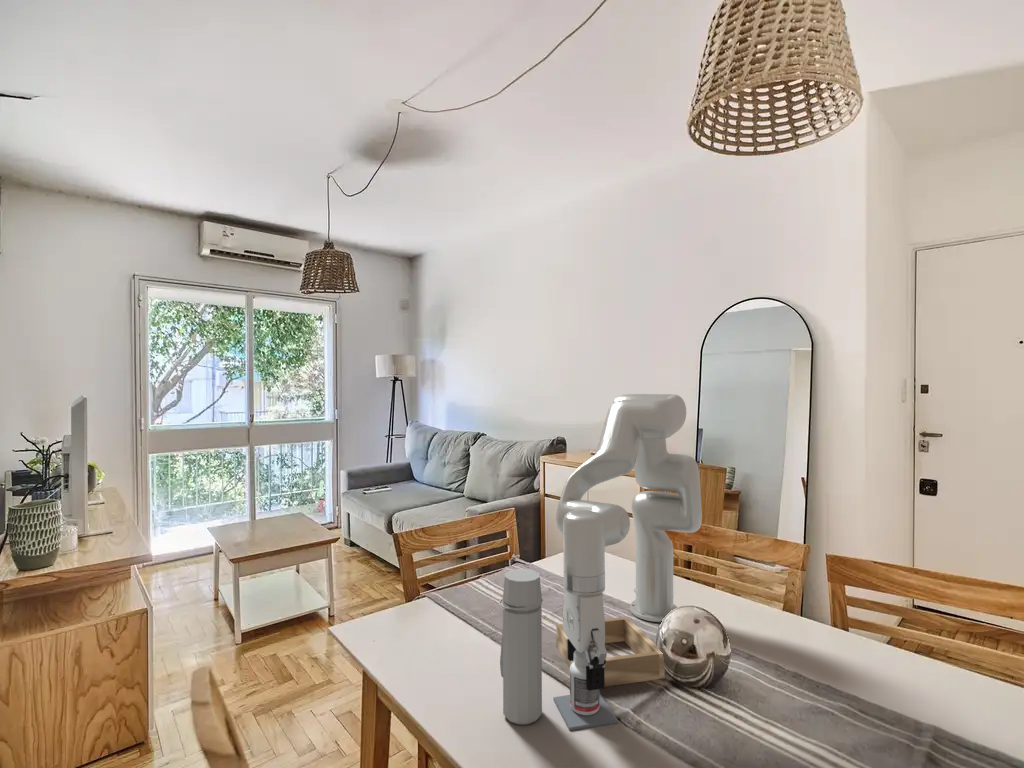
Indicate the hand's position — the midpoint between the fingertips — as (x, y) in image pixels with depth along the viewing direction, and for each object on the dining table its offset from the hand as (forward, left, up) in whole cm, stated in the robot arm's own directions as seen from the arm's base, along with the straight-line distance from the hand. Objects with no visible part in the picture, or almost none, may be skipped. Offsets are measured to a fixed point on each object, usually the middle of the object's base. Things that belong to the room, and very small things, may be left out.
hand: (585, 673), depth 94 cm
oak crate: (-15, +11, -7) cm, 19 cm away
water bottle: (-2, -12, -7) cm, 14 cm away
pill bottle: (0, 0, -6) cm, 6 cm away
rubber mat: (0, 0, -7) cm, 7 cm away
